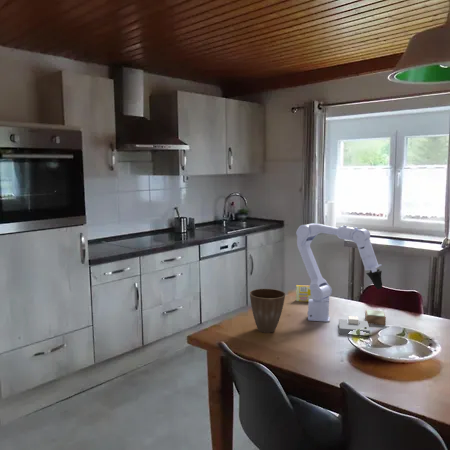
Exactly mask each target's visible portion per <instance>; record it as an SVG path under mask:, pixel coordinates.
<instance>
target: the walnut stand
mask: <svg viewBox="0 0 450 450" xmlns="http://www.w3.org/2000/svg"><path fill="white" fill-rule="evenodd" d="M364 314H365V315H364V319H365V320H364V321H368V325H378V326H379V325H380V326H386V323H387V322H386V319H387V316H386V314H385V312H384V310H373V309H366V310H365V311H364Z"/></svg>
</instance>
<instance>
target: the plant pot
mask: <svg viewBox="0 0 450 450" xmlns="http://www.w3.org/2000/svg"><path fill="white" fill-rule="evenodd" d="M249 297H250V306H251V311H252V315H253V319H254V323H255V325H256V328H257V330H258V331H259V332H261V333H267V334H269V333H274V332H275V331H276V329H277V326H278V324H279V321H280V319H281V315H282V313H283V309H284V304H285V298H286V293H285V292H284V291H282V290H279V289H275V288H258V289H253V290H250V291H249Z"/></svg>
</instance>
